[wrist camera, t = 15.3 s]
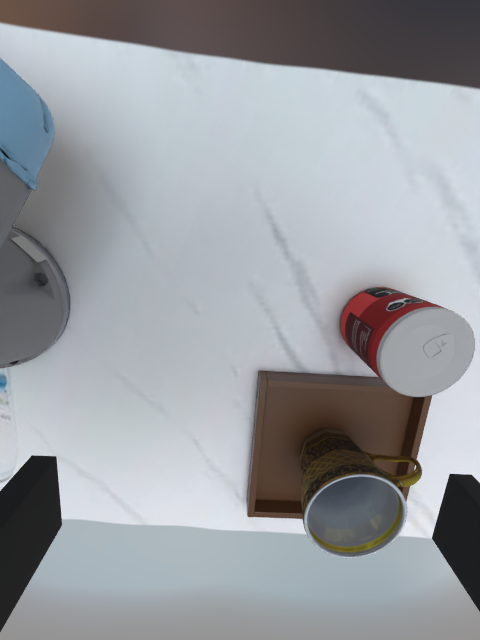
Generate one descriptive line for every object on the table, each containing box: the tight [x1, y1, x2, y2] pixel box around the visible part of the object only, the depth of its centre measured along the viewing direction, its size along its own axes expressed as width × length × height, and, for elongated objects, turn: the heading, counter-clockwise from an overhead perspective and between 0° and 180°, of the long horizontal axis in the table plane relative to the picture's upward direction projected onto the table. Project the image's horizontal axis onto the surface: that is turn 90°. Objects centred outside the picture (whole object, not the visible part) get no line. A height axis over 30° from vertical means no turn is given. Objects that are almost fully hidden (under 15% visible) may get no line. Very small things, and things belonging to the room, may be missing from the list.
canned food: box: [341, 287, 475, 397], centre depth 32 cm, size 8×8×11 cm
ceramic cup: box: [300, 428, 422, 558], centre depth 36 cm, size 13×10×10 cm
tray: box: [247, 371, 432, 519], centre depth 40 cm, size 20×19×2 cm
